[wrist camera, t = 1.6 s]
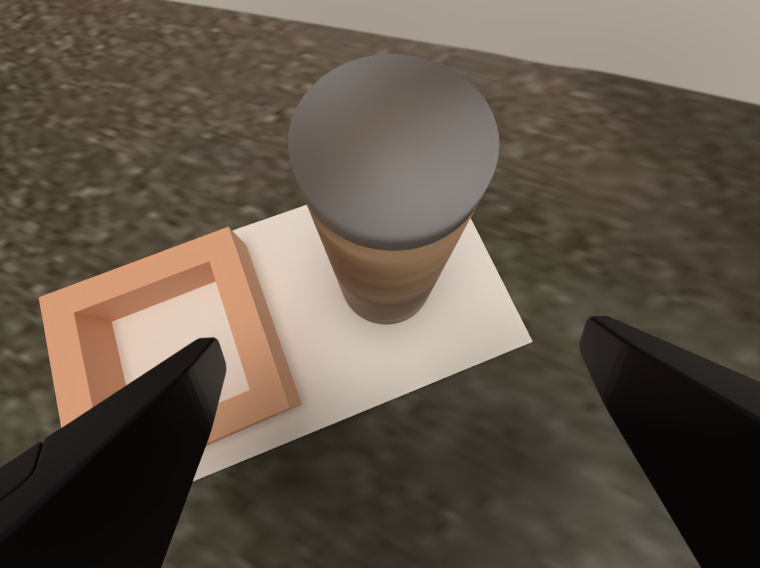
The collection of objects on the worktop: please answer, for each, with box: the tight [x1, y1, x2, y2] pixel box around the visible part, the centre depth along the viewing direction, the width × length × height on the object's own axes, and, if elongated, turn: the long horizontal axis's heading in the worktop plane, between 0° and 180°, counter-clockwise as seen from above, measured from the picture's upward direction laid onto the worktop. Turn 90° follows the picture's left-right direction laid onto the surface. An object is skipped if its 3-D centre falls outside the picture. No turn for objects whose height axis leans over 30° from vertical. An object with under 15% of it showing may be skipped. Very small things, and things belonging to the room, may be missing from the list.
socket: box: [39, 227, 302, 446], centre depth 18 cm, size 9×9×2 cm
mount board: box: [112, 205, 532, 481], centre depth 20 cm, size 23×12×1 cm, turn 111°
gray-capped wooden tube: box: [288, 54, 499, 325], centre depth 14 cm, size 5×5×12 cm
